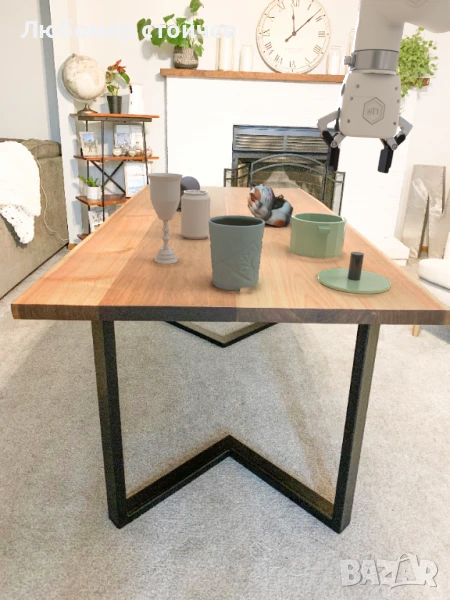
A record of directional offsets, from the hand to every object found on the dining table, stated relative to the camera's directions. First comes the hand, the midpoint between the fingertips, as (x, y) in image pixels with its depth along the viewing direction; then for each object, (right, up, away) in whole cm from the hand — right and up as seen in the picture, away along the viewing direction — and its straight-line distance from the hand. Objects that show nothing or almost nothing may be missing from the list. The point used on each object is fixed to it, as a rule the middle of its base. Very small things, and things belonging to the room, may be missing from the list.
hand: (357, 171), depth 80 cm
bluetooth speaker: (-39, +11, +81) cm, 91 cm away
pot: (-3, -12, +26) cm, 29 cm away
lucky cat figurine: (-10, 0, +57) cm, 58 cm away
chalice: (-37, -15, +16) cm, 43 cm away
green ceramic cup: (-23, -20, +3) cm, 31 cm away
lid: (+1, -20, +5) cm, 20 cm away
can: (-32, -7, +37) cm, 49 cm away
